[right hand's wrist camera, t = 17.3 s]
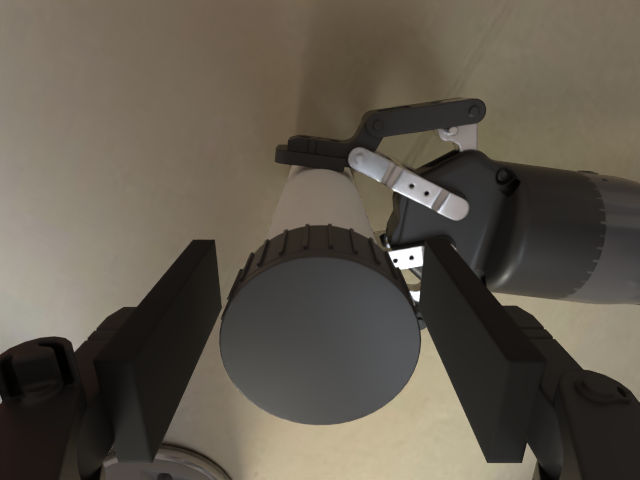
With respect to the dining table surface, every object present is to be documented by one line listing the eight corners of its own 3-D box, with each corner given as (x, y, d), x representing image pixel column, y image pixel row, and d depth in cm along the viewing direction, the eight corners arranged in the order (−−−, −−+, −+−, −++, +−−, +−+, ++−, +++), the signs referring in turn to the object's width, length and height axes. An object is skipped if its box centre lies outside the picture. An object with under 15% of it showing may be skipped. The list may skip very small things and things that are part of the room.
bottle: (349, 211, 30) (394, 398, 12) (288, 209, 30) (240, 394, 12) (353, 149, 28) (412, 257, 10) (289, 146, 28) (233, 251, 10)
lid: (198, 298, 12) (172, 343, 10) (326, 184, 11) (328, 207, 9) (315, 398, 14) (314, 456, 12) (440, 307, 12) (466, 353, 10)
